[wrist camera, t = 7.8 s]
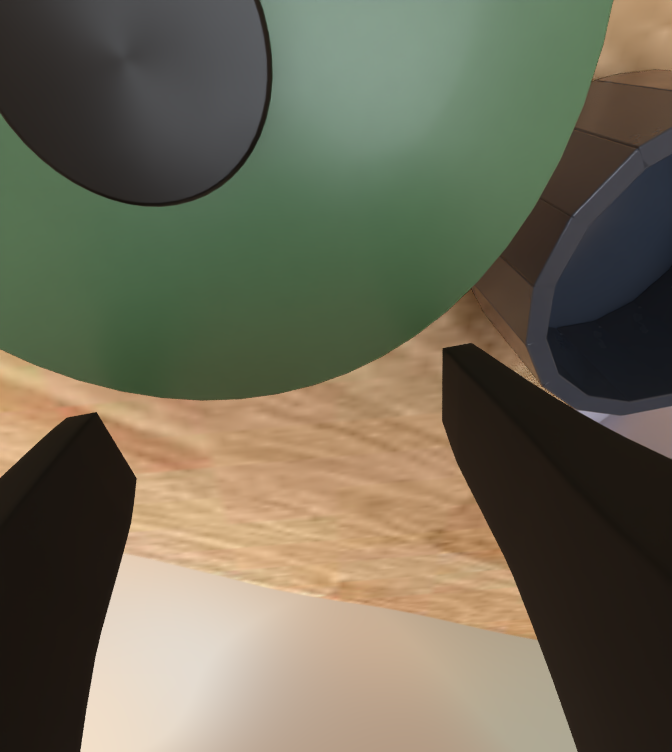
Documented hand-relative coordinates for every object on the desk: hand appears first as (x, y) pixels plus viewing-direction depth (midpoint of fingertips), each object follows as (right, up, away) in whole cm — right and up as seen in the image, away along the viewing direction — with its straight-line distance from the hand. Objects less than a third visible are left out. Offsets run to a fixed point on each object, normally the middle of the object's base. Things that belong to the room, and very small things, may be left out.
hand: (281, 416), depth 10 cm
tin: (+12, +7, +9) cm, 17 cm away
